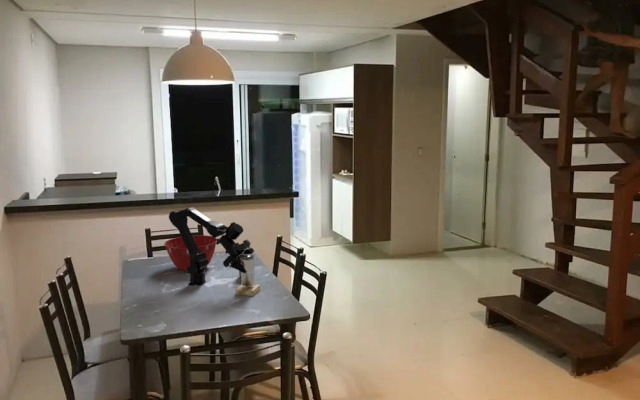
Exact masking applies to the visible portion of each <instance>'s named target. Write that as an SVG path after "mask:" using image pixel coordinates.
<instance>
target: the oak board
mask: <svg viewBox="0 0 640 400" xmlns="http://www.w3.org/2000/svg"><path fill="white" fill-rule="evenodd" d="M260 291H261V284H259V283H258V284H255V283H254V285H252V286H243V285H241V284H240V285H239V286H238V287H237V288H235V295H240V296H252V297H254V296H255V295H256V294H257V293H258V292H260Z"/></svg>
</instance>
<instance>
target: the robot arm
mask: <svg viewBox="0 0 640 400" xmlns="http://www.w3.org/2000/svg"><path fill="white" fill-rule="evenodd" d="M189 218H190V219H191V220H193V221H194V222H195V223H197V224H199V225H200V226H202V227H203V228H205V230H206V232H207V233H208V234H209V236H212V237H215V238H217V237H219V238H217V241H216V246H218V245H221V246H222V247H223V249H224V250H225V252H224V253H225V254H228V256H227V257H226V258H225V260H224V261H222V266H224V268H232V269H235V270H237V271H238V272H239V271H241V272H243V273H246V270H245V268H244V267H243V266H242V264H241V263H240V258H241V255H243V254H254V252H255V250H254V248H253V247H251V242H250V241H249V240H248V239H245V240H243V241H242V242H241V243H239V242H235V240H237V239H238V238H239V237H240V236H241V235H242V234H243V232H244V228H243V226H242V225H240V224H239V223H236V222H235V221H232V222H231V223H230V224H229V226H227V225H225V224H223V223H222V222H220V221H216V220H212V219H210V217H209V218H208V217H207V216H206V215H205V214H203V213H201V212H200V211H199V210H198V209H196V208H195V207H193V206H191V207H187V208H185V209H177V210H173V211H170V212H169V215H168V220H169V221H170V223H171V224H172V226H173V227H175V228H176V229H177V230H178V232H179V234H180V237H182V239H183V241H184V243H185V245H186V247H187V250H188V252H189V254H190V264H191V265H190V266H189V267H188V268H187V271H186V272H187V274H189V283H188V285H190V286H202V285H203V284H204V283H206V282H207V281H206V274H205V271H206V270H207V267H208V266H209V264H208V260H207V259H208V258H207V256H206V254H205V252H203V253H202V252H200V251H199V249H198V247H197V245H196V243H195V240H194V238H193V234H192V233H191V230H190V228H189V226H188V220H189Z"/></svg>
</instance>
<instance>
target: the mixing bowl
mask: <svg viewBox="0 0 640 400" xmlns="http://www.w3.org/2000/svg"><path fill="white" fill-rule="evenodd" d="M192 236H193V238H194V240H195V243H196V245H197V247H198V249H199V251H200V252H202V253H203V252H205V254H206V256H207V258H208V259H207V260H208V265H209V264H210V262H211V261H212V259H213V256H214V253H215V250H216V247H217V245H216V242H217V239H218V238H217V237H212V236H211V235H205V234H201V235H200V234H199V235H198V234H197V235H196V234H195V235H193V234H192ZM164 246H165V248H166V252H167V254H168V256H169V258H170V260H171V261H172V263H173V265H174V266H175V267H176V268H178V269H179V270H181V271H182V272H187V268H188V267H189V266H190V265H191V264H190V254H189V252H188V250H187V247H186V245H185V243H184V241H183V239H182V237H181V236H178V237H174V238H171V239H168V240H166V241H164Z"/></svg>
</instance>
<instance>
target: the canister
mask: <svg viewBox="0 0 640 400" xmlns="http://www.w3.org/2000/svg"><path fill="white" fill-rule="evenodd" d="M241 264H242V266H243V267H244V268H245V270H246V273H243V272H241V278H240V279H241V281H240V283H241V284H240V285H243V286H252V285H254V284H255V255H254V253H252V254H243V255H241Z"/></svg>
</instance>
